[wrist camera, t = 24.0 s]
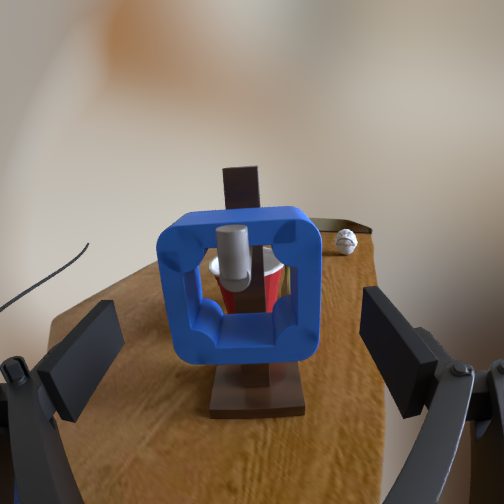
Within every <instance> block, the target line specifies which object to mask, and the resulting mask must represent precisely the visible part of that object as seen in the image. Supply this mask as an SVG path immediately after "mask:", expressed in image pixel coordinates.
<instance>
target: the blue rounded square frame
mask: <svg viewBox="0 0 504 504" xmlns="http://www.w3.org/2000/svg"><path fill="white" fill-rule="evenodd" d="M225 225H245V226H247V228H248V242H249V246H258V245H271V247H272V251H273V253H274V255H275V257H276V258H277V260H278V261H279V262H281V263H282V264H284V265H286V266H289V267H290V295H285V296H283V297H281V298H279V299H278V300H277V301H276V302H275V304H274V306H273V309H272V312H268V313H247V314H223V312H222V309H221V307H220V306H219V305H218V304H217V303H216V302H214V301H213V300H210V299H206V298H203V296H202V288H201V280H200V272H199V264H200V263H201V261H202V259H203V258H204V256H205V254H206V252H207V250H208V248H217V242H216V232H215V230H216V228H218V227H221V226H225ZM156 251H157V258H158V264H159V271H160V277H161V283H162V289H163V295H164V300H165V306H166V311H167V316H168V321H169V326H170V331H171V336H172V341H173V345H174V349H175V352H176V354H177V355H178V356H179V357H180V358H181V359H182V360H184V361H185V362H187V363H190V364H195V365H222V364H260V363H279V362H295V361H302V360H305V359H307V358H309V357H310V356H312V355H313V354H314V353H315V351H316V350H317V348H318V345H319V333H320V310H321V272H322V240H321V235H320V232H319V230H318V229H317V227H316V226H315V225H314V224H313V223H312V222H311V220H310V219H309V218H308V217H307V216H306V215H305V214H304V213H303V211H301V210H300V209H298V208H296V207H292V206H283V207H282V206H281V207H264V208H263V207H262V208H243V209H227V210H212V211H199V212H190V213H187V214H185V215H183V216H182V217H181V218H180V219H178V220H177V221H176V222H175V223H173V224H172V225H171V226H169V227H168V228H167V229H165V230H164V231H163V232H162V233H161V234H160V236H159V238H158V241H157V245H156Z"/></svg>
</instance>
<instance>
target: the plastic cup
mask: <svg viewBox="0 0 504 504" xmlns="http://www.w3.org/2000/svg"><path fill="white" fill-rule="evenodd" d="M263 259H264V276H265V293H266V312H267V313H268V312H272V309H273V306H274V304H275V302H276V301H277V296H278V288H279V280H280V277H281V272H282V267H283V265H284V264H282V263H281V262H279V261H278V260H277V258H276V257H275V255H274V253H273V251H272V249H271V248H265V247H263ZM209 269H210V271H211V272H212V273H213V274H214V276H215V278H216V280H217V282H218V285H219V286H220V290H221V293H222V296H223V299H224V303H225V306H226V309H227V312H228V314H235V305H234V295H233V292H230V291H228V290H226V289H225V288H224V287H223V286H222V285H221V283H220V280H219V274H220V271H219V262H218V256H217V257H215V258H214V259H213V260H212V261H211V262H210V264H209Z"/></svg>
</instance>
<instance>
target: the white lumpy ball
mask: <svg viewBox="0 0 504 504" xmlns="http://www.w3.org/2000/svg"><path fill="white" fill-rule="evenodd" d="M334 242H335V245H336V247H337V249H338V251H339V252H340V253H342V254H344V255H348V254H351V253H352V252H353V251H354V249H355V247H356V245H357V240H356V238H355V235H354V234H353V232H352V231H350V230H349V229H343V230H342V231H339V233H338V234H337V236H336V239H335V241H334Z"/></svg>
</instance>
